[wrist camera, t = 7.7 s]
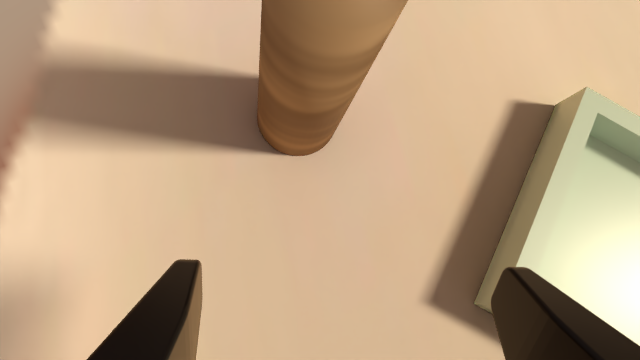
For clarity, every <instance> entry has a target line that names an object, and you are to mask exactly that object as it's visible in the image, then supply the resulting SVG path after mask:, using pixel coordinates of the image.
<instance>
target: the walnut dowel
mask: <svg viewBox="0 0 640 360" xmlns="http://www.w3.org/2000/svg"><path fill="white" fill-rule="evenodd" d="M407 1H408V0H262V11H261V36H260V60H259V85H258V109H257V121H258V126H259V129H260V132H261V134H262V136H263V137H264V139H265V140H266V141H267V142H268V143H269V144H270V145H271V146H272V147H273V148H275V149H276V150H278V151H280V152H282V153H285V154H288V155H293V156H304V155H309V154H312V153H314V152H317V151H318V150H320V149H321V148H323V147H324V146H325V145H326V144H327V143H328V142H329V140H330V139H331V137H332V136H333V134H334V132H335V130H336V128H337V127H338V125H339V123H340V121H341V120H342V118H343V116H344V114H345V112H346V111H347V109H348V107H349V105H350V103H351V102H352V100H353V98H354V96H355V94H356V93H357V91H358V89H359V87H360V85H361V84H362V82H363V80H364V78H365V76H366V75H367V73H368V71H369V69H370V67H371V66H372V64H373V62H374V60H375V58H376V57H377V55H378V53H379V51H380V50H381V48H382V46H383V44H384V42H385V41H386V39H387V37H388V35H389V33H390V32H391V30H392V28H393V26H394V24H395V23H396V21H397V19H398V17H399V15H400V14H401V12H402V10H403V8H404V6H405V5H406V3H407Z"/></svg>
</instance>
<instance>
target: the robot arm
mask: <svg viewBox="0 0 640 360" xmlns="http://www.w3.org/2000/svg"><path fill="white" fill-rule="evenodd" d="M201 308H202V268H201V263H200V261H199V260H181V259H180V260H177V261H175V262H174V263H173V264H172V265H171V266H170V268H169V269H168V270H167V271H166V272H165V273H164V274H163V275H162V276H161V278H160V279H159V280H158V281H157V282H156V283H155V284H154V285H153V286H152V288H151V289H150V290H149V291H148V292H147V293H146V294H145V295H144V296H143V298H142V299H141V300H140V301H139V302H138V303H137V304H136V305H135V306H134V308H133V309H132V310H131V311H130V312H129V313H128V314H127V315H126V317H125V318H124V319H123V320H122V321H121V322H120V323H119V324H118V325H117V327H116V328H115V329H114V330H113V331H112V332H111V333H110V334H109V335H108V337H107V338H106V339H105V340H104V341H103V342H102V343H101V344H100V345H99V347H98V348H97V349H96V350H95V351H94V352H93V353H92V354H91V355H90V357H89V358H88V359H87V360H196V353H197V344H198V335H199V326H200V317H201ZM491 310H492V314H493V317H494V321H495V324H496V328H497V331H498V335H499V338H500V342H501V345H502V349H503V353H504V356H505V360H640V346H639V345H638V344H636V343H635V342H634V341H632V340H631V339H629V338H628V337H626V336H625V335H624V334H622V333H621V332H619V331H618V330H616V329H615V328H614V327H612V326H611V325H609V324H608V323H606V322H605V321H604V320H602V319H601V318H599V317H598V316H596V315H595V314H594V313H592V312H591V311H589V310H588V309H586V308H585V307H584V306H582V305H581V304H579V303H578V302H576V301H575V300H574V299H572V298H571V297H569V296H568V295H566V294H565V293H564V292H562V291H561V290H559V289H558V288H556V287H555V286H554V285H552V284H551V283H549V282H548V281H546V280H545V279H544V278H542V277H541V276H539V275H538V274H536V273H535V272H534V271H532V270H531V269H529V268H526V267H507V268H505V269H504V270H503V271H502V273H501V276H500V278H499V280H498V283H497V285H496V287H495V290H494V292H493V294H492V297H491Z"/></svg>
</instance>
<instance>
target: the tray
mask: <svg viewBox="0 0 640 360" xmlns="http://www.w3.org/2000/svg"><path fill="white" fill-rule="evenodd" d="M507 267H526V268H529V269H531V270H532V271H534V272H535V273H536V274H538V275H539V276H541V277H542V278H544V279H545V280H546V281H548V282H549V283H551V284H552V285H554V286H555V287H556V288H558V289H559V290H561V291H562V292H564V293H565V294H566V295H568V296H569V297H571V298H572V299H574V300H575V301H576V302H578V303H579V304H581V305H582V306H584V307H585V308H586V309H588V310H589V311H591V312H592V313H594V314H595V315H596V316H598V317H599V318H601V319H602V320H604V321H605V322H606V323H608V324H609V325H611V326H612V327H614V328H615V329H616V330H618V331H619V332H621V333H622V334H624V335H625V336H626V337H628V338H629V339H631V340H632V341H634V342H635V343H636V344H638V345H639V346H640V117H639V116H638V115H636V114H634V113H632V112H631V111H629V110H627V109H625V108H624V107H622V106H620V105H618V104H617V103H615V102H613V101H611V100H609V99H608V98H606V97H604V96H602V95H601V94H599V93H597V92H595V91H594V90H592V89H590V88H588V87H585V88H584V89H582V90H580V91H579V92H577V93H575V94H573V95H572V96H570V97H568V98H567V99H565V100H563V101H561V102H560V103H558V104H556V105H555V107H554V110H553V112H552V115H551V117H550V119H549V122H548V124H547V127H546V129H545V132H544V134H543V136H542V139H541V141H540V144H539V146H538V149H537V151H536V154H535V156H534V158H533V161H532V163H531V166H530V168H529V171H528V173H527V175H526V178H525V180H524V183H523V185H522V188H521V190H520V192H519V195H518V197H517V200H516V202H515V205H514V207H513V210H512V212H511V214H510V217H509V219H508V222H507V224H506V227H505V229H504V231H503V234H502V236H501V239H500V241H499V244H498V246H497V248H496V251H495V253H494V256H493V258H492V261H491V263H490V266H489V268H488V270H487V273H486V275H485V278H484V280H483V283H482V285H481V287H480V290H479V292H478V295H477V297H476V300H475V302H474V304H475V305H477V306H479V307H481V308H483V309H484V310H486V311H488V312H490V313H492V310H491V297H492V294H493V292H494V290H495V287H496V285H497V283H498V280H499V278H500V276H501V273H502V271H503V270H504V269H505V268H507Z"/></svg>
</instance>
